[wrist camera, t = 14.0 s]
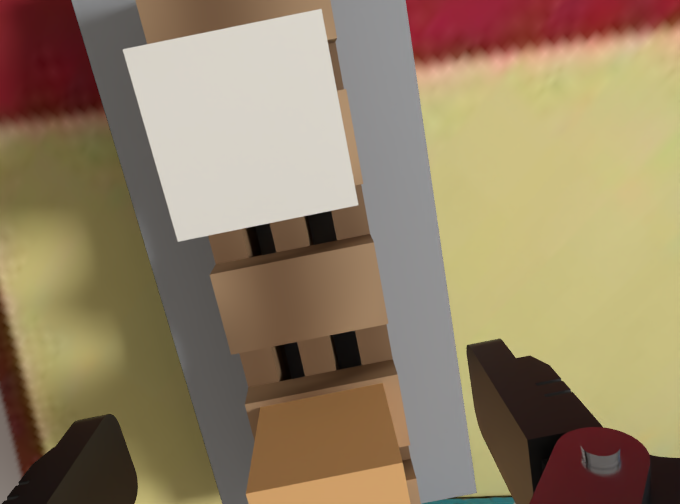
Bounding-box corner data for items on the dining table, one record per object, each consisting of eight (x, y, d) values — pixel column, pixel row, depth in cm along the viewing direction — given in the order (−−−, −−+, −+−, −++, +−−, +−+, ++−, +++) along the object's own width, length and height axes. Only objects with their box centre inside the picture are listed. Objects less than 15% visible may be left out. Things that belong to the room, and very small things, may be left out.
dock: (376, -77, 23) (389, -112, 19) (455, 442, 30) (476, 492, 26) (99, -22, 23) (57, -46, 19) (243, 484, 30) (233, 540, 26)
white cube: (319, 32, 16) (321, 8, 12) (346, 179, 18) (358, 205, 13) (172, 62, 16) (122, 49, 12) (210, 207, 18) (177, 241, 13)
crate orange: (382, 383, 20) (402, 462, 15) (402, 486, 21) (426, 586, 17) (260, 407, 20) (245, 494, 15) (287, 509, 21) (281, 616, 17)
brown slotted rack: (316, -35, 20) (317, -72, 16) (408, 469, 26) (427, 541, 22) (165, -6, 20) (126, -34, 16) (292, 492, 26) (289, 568, 22)
